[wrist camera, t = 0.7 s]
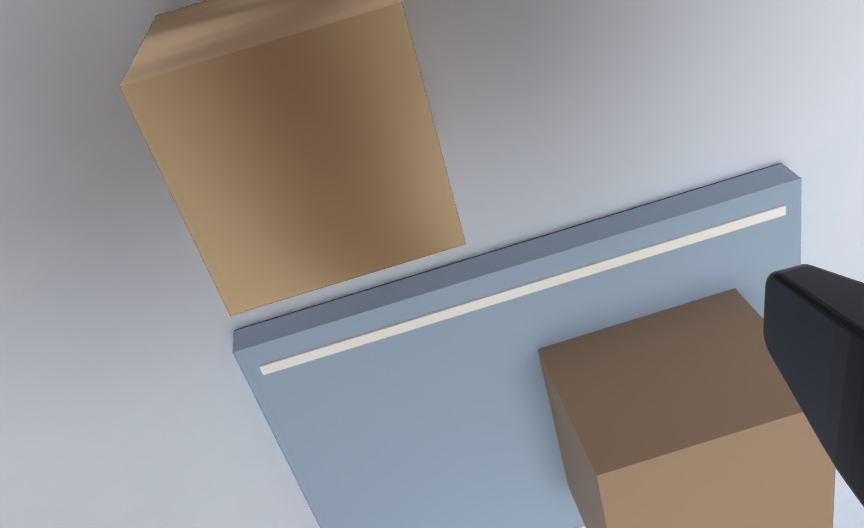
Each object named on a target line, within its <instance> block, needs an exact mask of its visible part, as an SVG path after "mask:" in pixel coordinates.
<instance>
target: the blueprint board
mask: <svg viewBox="0 0 864 528" xmlns="http://www.w3.org/2000/svg"><path fill="white" fill-rule="evenodd" d="M796 265H801V178H800V177H799V176H798V175H796V174H795V173H794V172H792V171H791V170H790V169H788V168H787V167H786V166H784V165H783V164H782V163H781V164H778V165H774V166H771V167H768V168H765V169H761V170H758V171H755V172H752V173H748V174H745V175H742V176H738V177H735V178H732V179H729V180H725V181H722V182H719V183H716V184H712V185H709V186H706V187H703V188H699V189H696V190H693V191H689V192H686V193H683V194H680V195H676V196H673V197H670V198H667V199H663V200H660V201H657V202H654V203H650V204H647V205H644V206H640V207H637V208H634V209H631V210H627V211H624V212H621V213H618V214H614V215H611V216H608V217H605V218H601V219H598V220H595V221H591V222H588V223H585V224H582V225H578V226H575V227H572V228H569V229H565V230H562V231H559V232H556V233H552V234H549V235H546V236H542V237H539V238H536V239H533V240H529V241H526V242H523V243H520V244H516V245H513V246H510V247H506V248H503V249H500V250H497V251H493V252H490V253H487V254H484V255H480V256H477V257H474V258H471V259H467V260H464V261H461V262H457V263H454V264H451V265H448V266H444V267H441V268H438V269H435V270H431V271H428V272H425V273H422V274H418V275H415V276H412V277H408V278H405V279H402V280H399V281H395V282H392V283H389V284H386V285H382V286H379V287H376V288H373V289H369V290H366V291H363V292H359V293H356V294H353V295H350V296H346V297H343V298H340V299H337V300H333V301H330V302H327V303H324V304H320V305H317V306H314V307H310V308H307V309H304V310H301V311H297V312H294V313H291V314H288V315H284V316H281V317H278V318H275V319H271V320H268V321H265V322H261V323H258V324H255V325H252V326H248V327H245V328H242V329H239V330H235V331H234V343H233V354H234V356H235V358H236V360H237V362H238V364H239V366H240V368H241V370H242V372H243V374H244V376H245V378H246V380H247V382H248V384H249V386H250V388H251V390H252V392H253V394H254V396H255V398H256V400H257V402H258V404H259V406H260V408H261V410H262V412H263V414H264V416H265V418H266V420H267V422H268V424H269V426H270V428H271V430H272V432H273V434H274V436H275V438H276V440H277V442H278V444H279V446H280V448H281V450H282V452H283V454H284V456H285V458H286V460H287V462H288V464H289V466H290V468H291V470H292V472H293V474H294V476H295V478H296V480H297V482H298V484H299V486H300V488H301V490H302V492H303V494H304V496H305V498H306V500H307V502H308V504H309V506H310V508H311V510H312V512H313V514H314V516H315V518H316V520H317V523H318V525H319V527H320V528H833V511H834V489H835V466H834V464H833V463H832V461H831V459H830V458H829V456H828V455H827V453H826V451H825V450H824V448H823V446H822V445H821V443H820V441H819V439H818V438H817V436H816V434H815V432H814V431H813V429H812V427H811V425H810V424H809V422H808V420H807V418H806V417H805V415H804V413H803V411H802V410H801V408H800V406H799V404H798V403H797V401H796V399H795V397H794V396H793V394H792V392H791V390H790V389H789V387H788V385H787V383H786V382H785V380H784V378H783V376H782V375H781V373H780V371H779V369H778V368H777V366H776V364H775V362H774V361H773V359H772V357H771V355H770V354H769V352H768V349H767V347H766V344H765V341H764V335H763V319H764V297H765V283H766V279H767V277H768V276H769V275H770V274H771V273H772V272H774V271H777V270H781V269H785V268H789V267H793V266H796Z"/></svg>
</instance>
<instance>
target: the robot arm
mask: <svg viewBox="0 0 864 528" xmlns="http://www.w3.org/2000/svg"><path fill="white" fill-rule="evenodd" d="M763 335H764V341H765V344H766V347H767V349H768V352H769V354H770V355H771V357H772V359H773V361H774V362H775V364H776V366H777V368H778V369H779V371H780V373H781V375H782V376H783V378H784V380H785V382H786V383H787V385H788V387H789V389H790V390H791V392H792V394H793V396H794V397H795V399H796V401H797V403H798V404H799V406H800V408H801V410H802V411H803V413H804V415H805V417H806V418H807V420H808V422H809V424H810V425H811V427H812V429H813V431H814V432H815V434H816V436H817V438H818V439H819V441H820V443H821V445H822V446H823V448H824V450H825V451H826V453H827V455H828V456H829V458H830V459H831V461H832V463H833V464H834V466H835V467H836V469H837V470H838V472H839V473H840V475H841V476H842V477H843V479H844V480H845V482H846V483H847V485H848V486H849V487H850V489H851V490H852V491H853V493H854V494H855V496H856V497H857V498H858V500H859V501H860V502H861V504H862V505H863V507H864V283H862V282H859V281H856V280H853V279H850V278H848V277H845V276H842V275H839V274H836V273H833V272H830V271H827V270H824V269H821V268H818V267H815V266H812V265H808V264H801V265H796V266H793V267H789V268H785V269H781V270H777V271H774V272H772V273H771V274H770V275H769V276H768V277H767V279H766V283H765V297H764V319H763Z"/></svg>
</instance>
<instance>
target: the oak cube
mask: <svg viewBox="0 0 864 528" xmlns="http://www.w3.org/2000/svg"><path fill="white" fill-rule="evenodd" d="M119 87H120V89H121V91H122V93H123V96H124V98H125V100H126V102H127V104H128V106H129V108H130V110H131V112H132V114H133V116H134V118H135V120H136V122H137V124H138V126H139V129H140V131H141V133H142V135H143V137H144V139H145V141H146V143H147V145H148V147H149V149H150V151H151V153H152V155H153V157H154V160H155V162H156V164H157V166H158V168H159V170H160V172H161V174H162V176H163V178H164V180H165V182H166V184H167V186H168V188H169V191H170V193H171V195H172V197H173V199H174V201H175V203H176V205H177V207H178V209H179V211H180V213H181V215H182V217H183V219H184V221H185V224H186V226H187V228H188V230H189V232H190V234H191V236H192V238H193V240H194V242H195V244H196V246H197V248H198V250H199V252H200V255H201V257H202V259H203V261H204V263H205V265H206V267H207V269H208V271H209V273H210V275H211V277H212V279H213V281H214V283H215V286H216V288H217V290H218V292H219V294H220V296H221V298H222V300H223V302H224V304H225V306H226V308H227V310H228V312H229V314H230V316H231V315H234V314H238V313H241V312H244V311H248V310H251V309H254V308H257V307H261V306H264V305H267V304H271V303H274V302H277V301H280V300H284V299H287V298H290V297H294V296H297V295H300V294H303V293H307V292H310V291H313V290H317V289H320V288H323V287H326V286H330V285H333V284H336V283H340V282H343V281H346V280H349V279H353V278H356V277H359V276H363V275H366V274H369V273H372V272H376V271H379V270H382V269H386V268H389V267H392V266H395V265H399V264H402V263H405V262H409V261H412V260H415V259H418V258H422V257H425V256H428V255H432V254H435V253H438V252H441V251H445V250H448V249H451V248H455V247H458V246H461V245H464V244H466V243H465V239H464V236H463V232H462V228H461V224H460V220H459V217H458V213H457V209H456V205H455V201H454V198H453V194H452V190H451V186H450V183H449V179H448V175H447V171H446V167H445V164H444V160H443V156H442V152H441V148H440V145H439V141H438V137H437V133H436V129H435V126H434V122H433V118H432V114H431V110H430V107H429V103H428V99H427V95H426V91H425V88H424V84H423V80H422V76H421V72H420V69H419V65H418V61H417V57H416V53H415V50H414V46H413V42H412V38H411V34H410V31H409V27H408V23H407V19H406V16H405V12H404V8H403V4H402V1H401V0H207V1H204V2H201V3H197V4H194V5H191V6H187V7H184V8H181V9H177V10H174V11H171V12H167V13H164V14H160V15H157V16H156V17H155V19H154V21H153V23H152V25H151V27H150V29H149V31H148V33H147V35H146V36H145V38H144V40H143V42H142V44H141V46H140V48H139V50H138V52H137V54H136V56H135V57H134V59H133V61H132V63H131V65H130V67H129V69H128V71H127V73H126V75H125V77H124V78H123V80H122V82H121V84H120V86H119Z"/></svg>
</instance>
